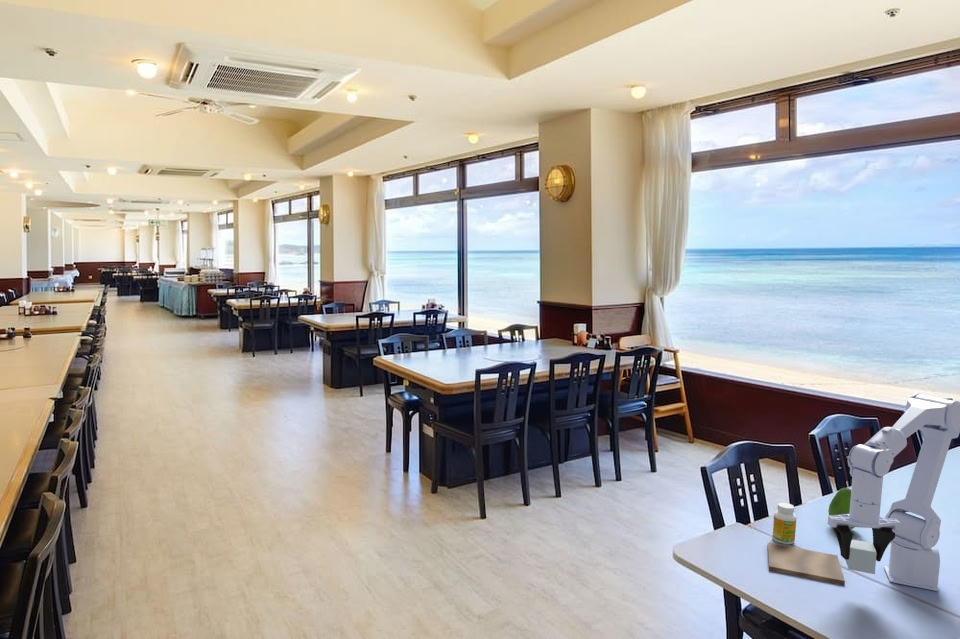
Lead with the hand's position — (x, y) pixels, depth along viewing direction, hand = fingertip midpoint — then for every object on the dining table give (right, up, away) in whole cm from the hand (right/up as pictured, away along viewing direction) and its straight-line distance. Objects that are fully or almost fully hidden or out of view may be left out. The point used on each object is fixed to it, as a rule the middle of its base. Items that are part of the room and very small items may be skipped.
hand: (860, 558), depth 141 cm
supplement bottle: (-4, -6, +28) cm, 29 cm away
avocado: (+17, -6, +37) cm, 41 cm away
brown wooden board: (-5, -7, +15) cm, 17 cm away
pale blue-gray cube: (0, -2, 0) cm, 2 cm away
